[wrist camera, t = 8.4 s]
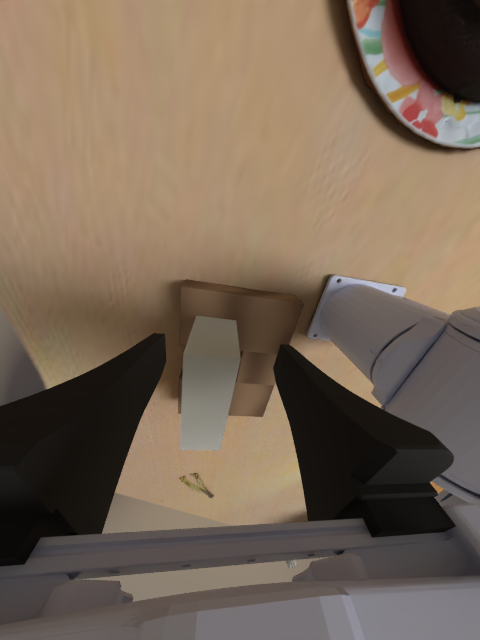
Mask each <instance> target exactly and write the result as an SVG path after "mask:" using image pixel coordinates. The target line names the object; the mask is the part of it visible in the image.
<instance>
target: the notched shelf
mask: <svg viewBox="0 0 480 640" xmlns="http://www.w3.org/2000/svg"><path fill="white" fill-rule="evenodd" d="M303 305H304V304H303V303H302V302H301V301H300V300H299V299H298V298H297V297H296V296H293V295H287V294H280V293H273V292H266V291H260V290H253V289H246V288H240V287H233V286H226V285H220V284H213V283H206V282H199V281H193V280H186V281H185V282H184V283H183V285H182V286H181V310H180V345H185V346H186V345H187V342H188V339H189V336H190V333H191V330H192V327H193V324H194V321H195V318H196V316H204V317H212V318H220V319H228V320H236V324H237V332H238V340H239V349H240V357H241V360H240V365H239V369H238V373H237V378H236V382H235V387H234V391H233V396H232V400H231V404H230V409H229V413H228V415H230V416H255V417H263V414H264V412H265V409H266V406H267V404H268V401H269V398H270V395H271V393H272V390H273V387H274V384H275V382H276V381H275V376H274V371H273V367H274V363H275V360H276V357H277V354H278V351H279V347H280V344H286V345H289V343H290V341H291V338H292V335H293V332H294V330H295V327H296V324H297V321H298V319H299V316H300V313H301V310H302V308H303ZM182 375H183V368H182V371H181V374H180V377H179V402H178V413H179V414H181V403H182Z"/></svg>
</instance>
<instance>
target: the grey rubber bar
mask: <svg viewBox="0 0 480 640" xmlns="http://www.w3.org/2000/svg"><path fill="white" fill-rule="evenodd" d="M240 360H241V357H240V349H239V340H238V332H237V324H236V320H228V319H220V318H212V317H204V316H196V318H195V321H194V324H193V327H192V330H191V333H190V336H189V339H188V342H187V345H186V347H185V350H184V353H183V375H182V403H181V430H180V450H220V449H221V444H222V440H223V435H224V431H225V426H226V422H227V418H228V413H229V409H230V404H231V400H232V396H233V391H234V387H235V382H236V378H237V373H238V369H239V365H240Z"/></svg>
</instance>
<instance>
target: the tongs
mask: <svg viewBox="0 0 480 640" xmlns="http://www.w3.org/2000/svg"><path fill="white" fill-rule="evenodd" d="M191 476H195V477H197V478H198V482H199V484H200V485H201V488H200V487H198V486H196V485H194V484H192V483H191V482H189V481H188V480H186V477H185V475H184V477H181V479H180V480H181V482H184V483H185V484H186V485H187V486H188V487H189V488H190V489H191V490H193V491H198V492H203V493H205V494H207V495H208V496H209V497H210V498H213V497H214V495H213V494H212V493H211V492H210V491H209V490H208V489H207V487H206V486H205V484H204V482H203V481H202V480H201V478H200V477H199V476H198V475H197V474H196V473H195V474H191ZM186 482H188V483H186ZM202 488H203V489H202Z"/></svg>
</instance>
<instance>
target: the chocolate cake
mask: <svg viewBox="0 0 480 640" xmlns="http://www.w3.org/2000/svg"><path fill="white" fill-rule="evenodd" d="M346 3H347V12H348V16H349V20H350V24H351V32H352V37H353V38H354V40H355V44H356V47H357V50H358V54H359V59H360V63H361V67H362V73H363V78H364V81H365V83H366V85H367V86H368V87H369V88H370V89H372V90H374V91H375V93H376V94H377V96H378V97H379V98H380V100H381V101H382V103H383V105H384V106H385V108H386V110H387V112H389V113H392V114H394V116H395V117H396V119H397V121H398V124H404V125H405V126H406V127H408V128H409V129H411V130H412V132H413V134H415V135H419V136H422V137H423V138H425V139H427V140H429V141H431V142H432V143H433V144H437V145H438V146H440V147H441V148H442V147H448V148H450V149H455V148H462V149H463V150H472V149H473V148H479V149H480V0H346Z"/></svg>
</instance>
